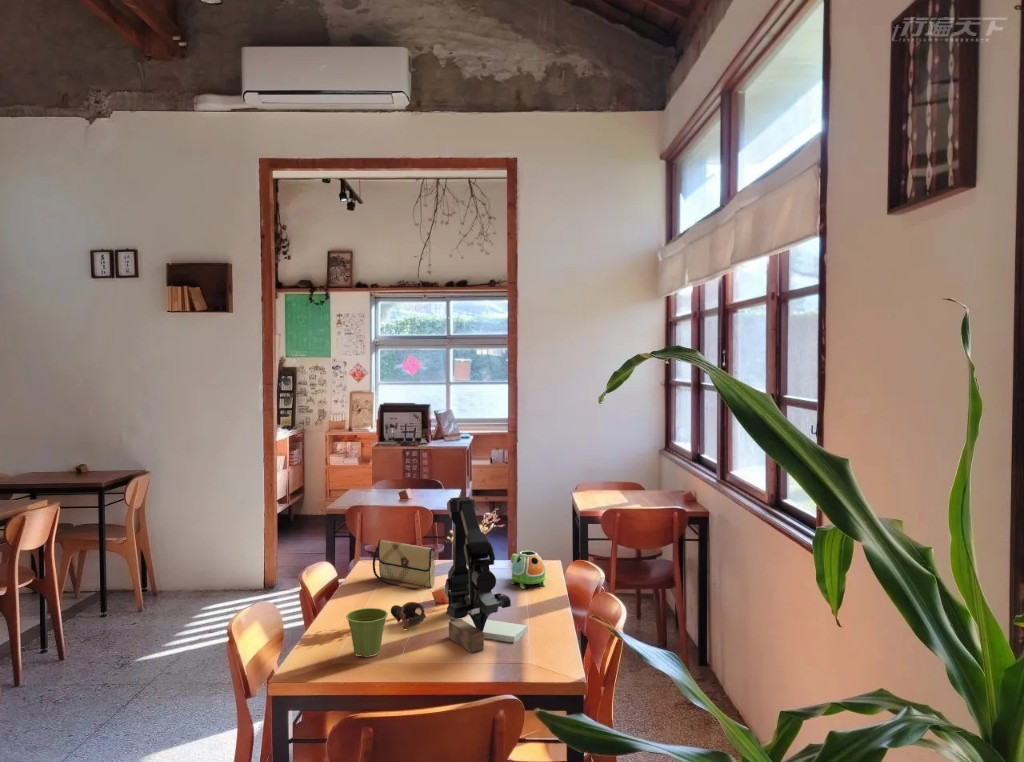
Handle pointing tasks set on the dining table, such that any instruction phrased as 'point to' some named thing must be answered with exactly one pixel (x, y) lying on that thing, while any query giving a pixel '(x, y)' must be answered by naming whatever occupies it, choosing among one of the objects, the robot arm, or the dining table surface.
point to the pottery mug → (408, 614)
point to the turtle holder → (527, 568)
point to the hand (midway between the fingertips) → (480, 634)
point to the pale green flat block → (502, 630)
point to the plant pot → (367, 630)
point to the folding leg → (466, 635)
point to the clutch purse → (405, 563)
